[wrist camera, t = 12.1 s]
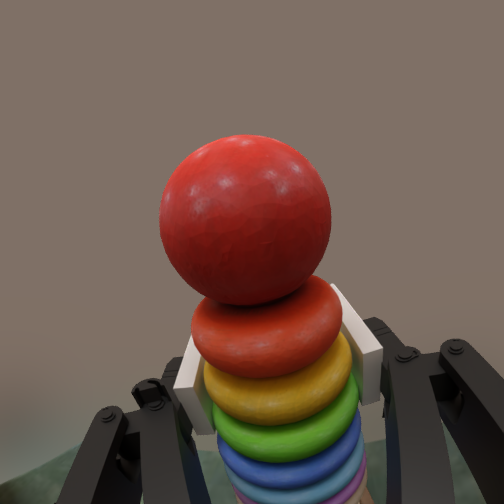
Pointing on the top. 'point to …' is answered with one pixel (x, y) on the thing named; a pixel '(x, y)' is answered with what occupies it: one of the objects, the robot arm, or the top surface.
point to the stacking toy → (267, 320)
